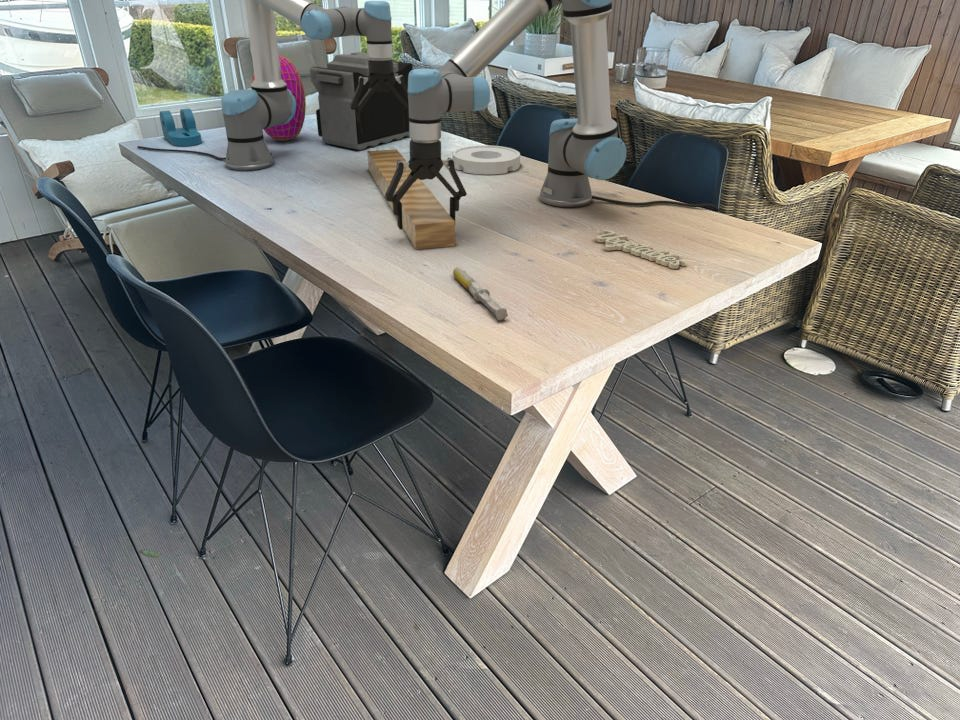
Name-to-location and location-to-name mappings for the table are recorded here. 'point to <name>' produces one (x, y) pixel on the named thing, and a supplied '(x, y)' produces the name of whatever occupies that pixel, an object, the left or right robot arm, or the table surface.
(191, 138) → the camera mount
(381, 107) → the electronic device
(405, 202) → the wooden beam
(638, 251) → the decorative sign
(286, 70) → the decorative egg
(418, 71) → the right robot arm
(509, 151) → the ashtray
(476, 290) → the syringe
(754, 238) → the table surface
